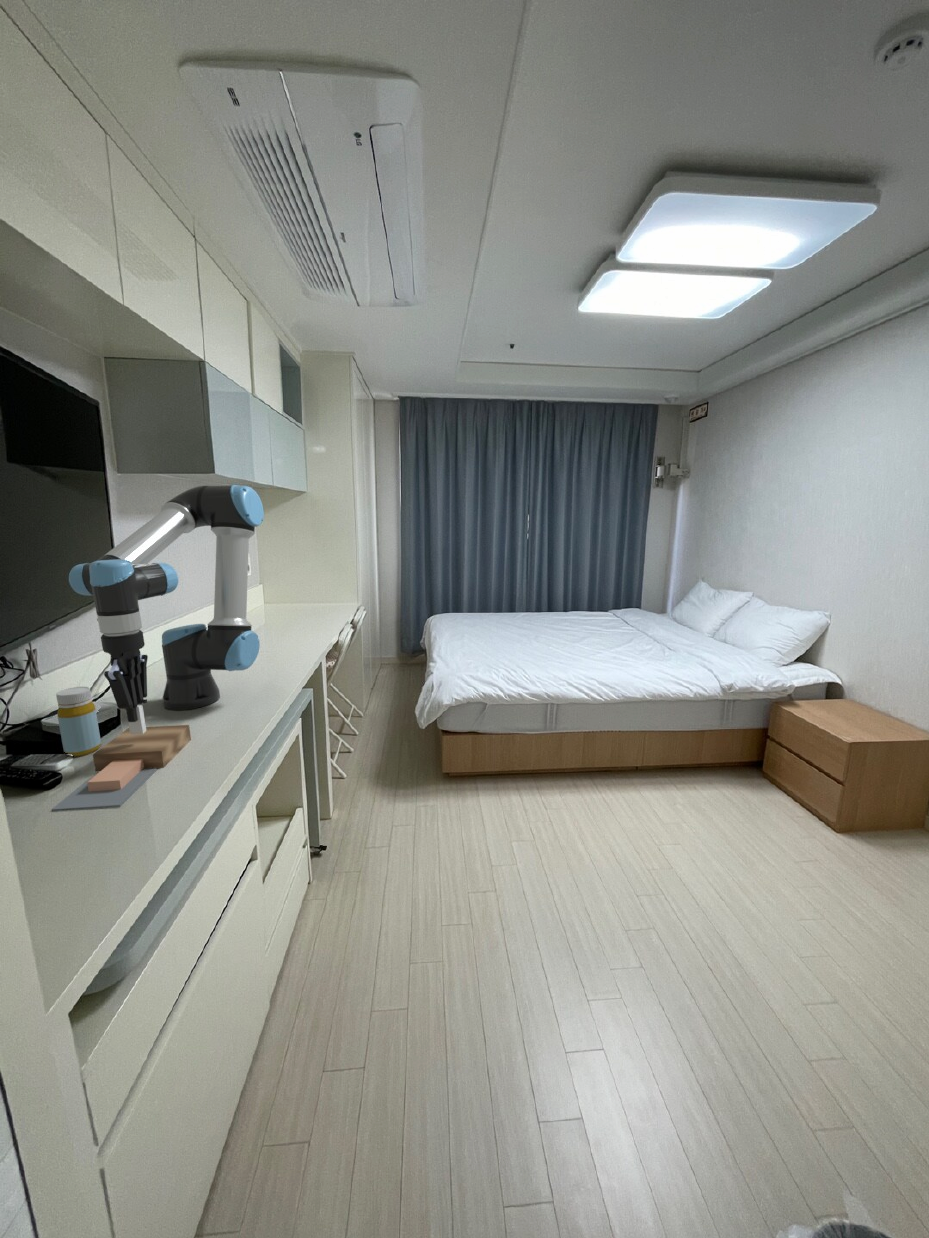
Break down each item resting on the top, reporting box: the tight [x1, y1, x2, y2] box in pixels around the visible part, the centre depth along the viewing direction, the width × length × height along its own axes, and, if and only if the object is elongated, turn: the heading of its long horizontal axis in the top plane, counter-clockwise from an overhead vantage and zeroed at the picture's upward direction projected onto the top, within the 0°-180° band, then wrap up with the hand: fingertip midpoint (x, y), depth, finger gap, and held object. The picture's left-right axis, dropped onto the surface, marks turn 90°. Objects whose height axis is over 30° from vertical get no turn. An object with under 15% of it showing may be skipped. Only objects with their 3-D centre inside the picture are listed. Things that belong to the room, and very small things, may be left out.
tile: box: [87, 759, 144, 791], centre depth 102 cm, size 9×6×2 cm, turn 7°
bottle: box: [55, 686, 102, 757], centre depth 114 cm, size 7×7×15 cm
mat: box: [51, 768, 158, 812], centre depth 99 cm, size 14×12×1 cm
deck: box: [92, 724, 192, 772], centre depth 113 cm, size 14×14×4 cm
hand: (138, 732), depth 110 cm, fingers closed
